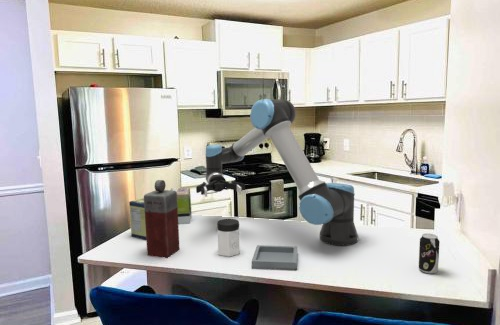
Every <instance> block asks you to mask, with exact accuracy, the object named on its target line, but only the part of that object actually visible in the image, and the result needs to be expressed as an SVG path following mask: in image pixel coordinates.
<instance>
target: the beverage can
mask: <svg viewBox="0 0 500 325" xmlns="http://www.w3.org/2000/svg"><path fill="white" fill-rule="evenodd" d="M440 243H441V242H440V239H439V238H438V235H436V234H433V233H428V232H427V233H422V235H421V237H420V238H419V250H418V251H419V252H418V269H419V270H420V271H421V272H423V273H425V274H430V275H431V274H435V273H437V272H438V271H439V260H440Z"/></svg>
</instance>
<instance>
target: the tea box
mask: <svg viewBox="0 0 500 325" xmlns="http://www.w3.org/2000/svg"><path fill="white" fill-rule="evenodd" d="M170 190H171V191H176V192H177V207H178V225H186V224H191V220H192V216H193V215H192V214H193V213H192V199H191V187H177V188H176V187H175V188H170Z"/></svg>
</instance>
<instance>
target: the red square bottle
mask: <svg viewBox="0 0 500 325" xmlns="http://www.w3.org/2000/svg"><path fill="white" fill-rule="evenodd" d="M143 198H144V210H145V226H146V240H145V241H146V255H147V256H148V257H155V258H157V257H158V258H163V257H165V258H166V259H169V258H170V257H172V256H171V255H173V256H174V254H176V253H177V252H178V251H180V232H179V231H180V230H179V224H178V207H177V192H176V191H171V189H170V190H168V189H166V181H165V180H163V179H157V180H155V182H154V190H153V191H150V192H147V193H145V194H144V195H143ZM168 257H169V258H168Z"/></svg>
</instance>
